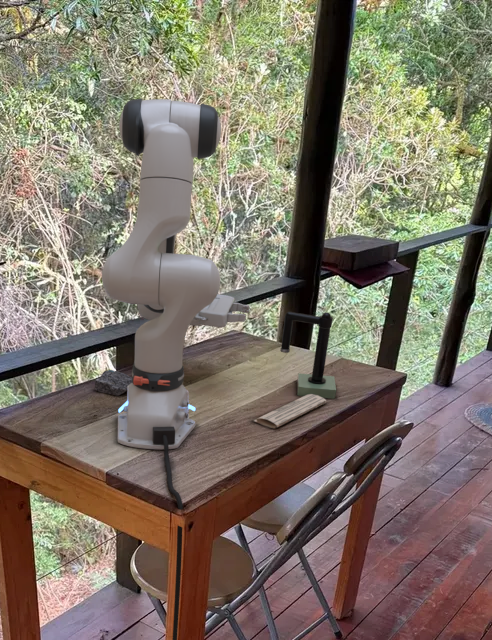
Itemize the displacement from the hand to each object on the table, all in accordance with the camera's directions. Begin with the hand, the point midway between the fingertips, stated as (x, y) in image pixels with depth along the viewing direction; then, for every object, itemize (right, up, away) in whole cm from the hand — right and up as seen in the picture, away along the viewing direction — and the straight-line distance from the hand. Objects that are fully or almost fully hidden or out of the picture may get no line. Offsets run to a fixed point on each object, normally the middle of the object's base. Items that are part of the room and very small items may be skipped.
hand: (247, 313), depth 200 cm
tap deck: (+19, -20, +5) cm, 28 cm away
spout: (+15, -11, +2) cm, 19 cm away
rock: (-35, -21, -2) cm, 41 cm away
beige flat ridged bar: (+10, -28, -10) cm, 32 cm away
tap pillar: (+19, -17, +4) cm, 26 cm away
